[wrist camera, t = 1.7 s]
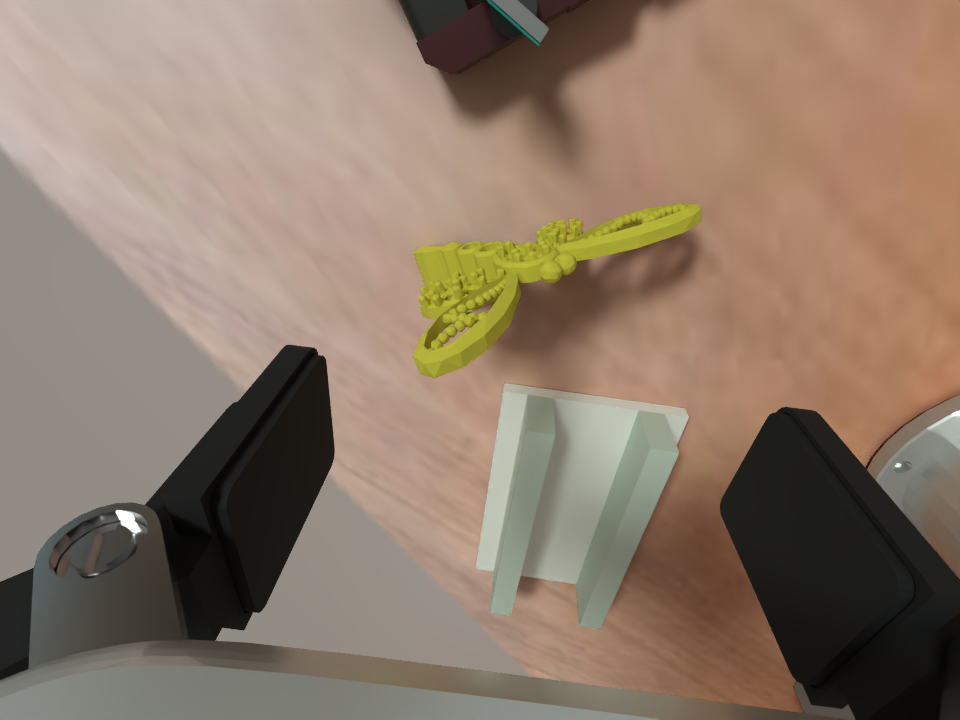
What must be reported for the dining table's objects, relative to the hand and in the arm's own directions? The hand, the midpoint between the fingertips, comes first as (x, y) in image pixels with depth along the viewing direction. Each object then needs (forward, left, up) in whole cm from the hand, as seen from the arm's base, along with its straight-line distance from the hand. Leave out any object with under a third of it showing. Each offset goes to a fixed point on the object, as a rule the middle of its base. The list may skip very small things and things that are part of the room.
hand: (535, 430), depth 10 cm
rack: (-5, +16, -14) cm, 22 cm away
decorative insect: (-1, 0, -14) cm, 14 cm away
